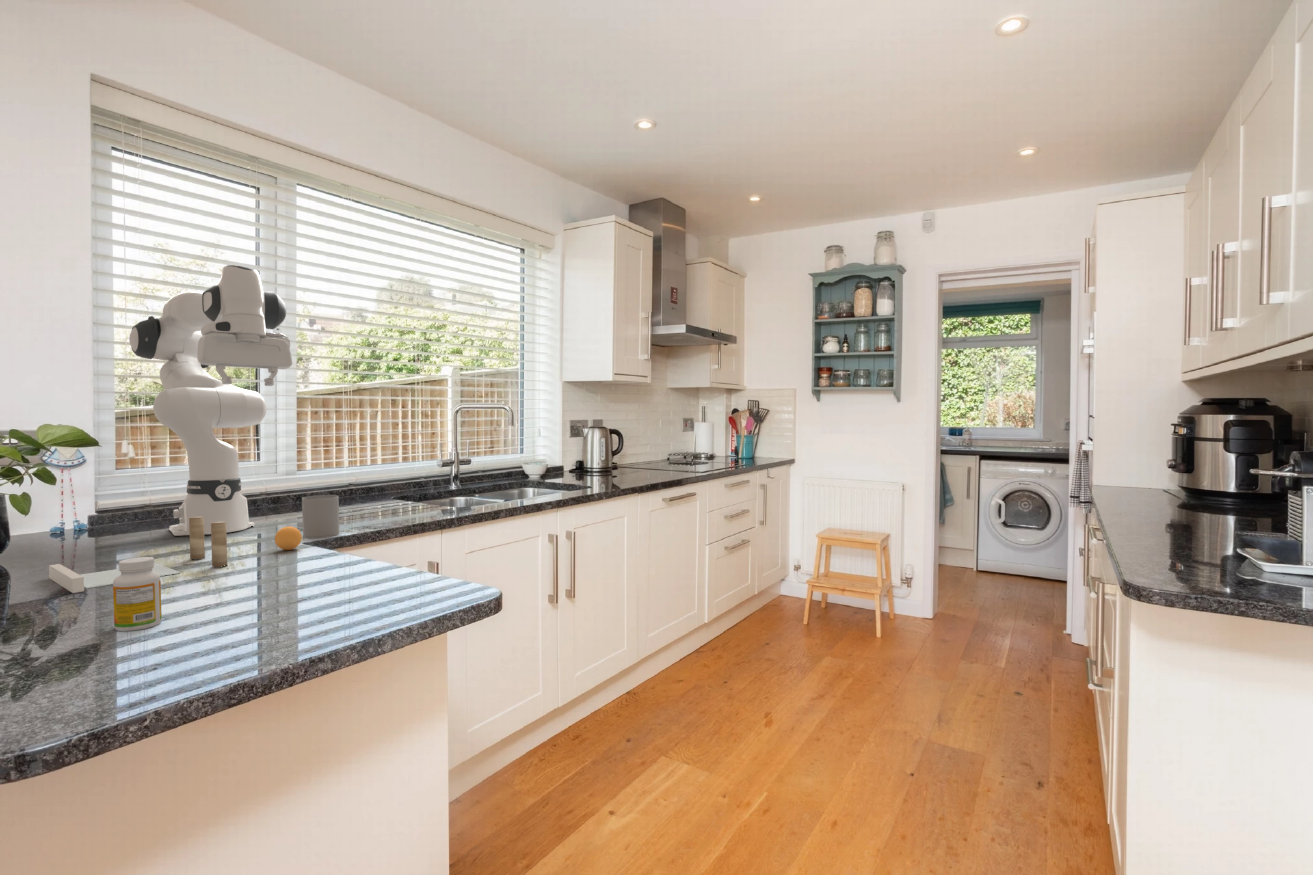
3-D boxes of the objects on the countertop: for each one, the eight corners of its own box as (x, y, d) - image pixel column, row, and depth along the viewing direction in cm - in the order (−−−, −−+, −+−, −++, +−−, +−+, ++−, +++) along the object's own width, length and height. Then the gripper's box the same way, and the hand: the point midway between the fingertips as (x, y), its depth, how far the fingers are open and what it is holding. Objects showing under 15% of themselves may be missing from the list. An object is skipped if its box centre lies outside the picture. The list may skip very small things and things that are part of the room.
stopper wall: (49, 578, 123) (49, 565, 123) (60, 576, 124) (59, 563, 124) (72, 593, 112) (72, 578, 112) (84, 591, 113) (83, 577, 113)
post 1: (188, 558, 139) (187, 517, 139) (202, 556, 141) (201, 516, 141) (192, 560, 138) (191, 518, 138) (206, 558, 140) (205, 517, 140)
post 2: (210, 566, 132) (208, 522, 132) (224, 564, 134) (223, 521, 134) (214, 568, 130) (213, 524, 130) (229, 565, 132) (228, 522, 132)
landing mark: (67, 577, 123) (67, 576, 123) (157, 564, 135) (157, 563, 135) (86, 588, 115) (86, 587, 115) (180, 573, 126) (180, 572, 126)
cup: (323, 538, 163) (322, 499, 163) (295, 537, 165) (294, 498, 165) (346, 532, 172) (345, 495, 171) (319, 531, 173) (318, 494, 173)
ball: (270, 550, 148) (270, 527, 148) (295, 546, 152) (295, 523, 152) (281, 553, 145) (280, 529, 145) (306, 549, 149) (305, 526, 149)
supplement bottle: (132, 620, 96) (130, 556, 96) (170, 619, 96) (168, 555, 96) (104, 632, 91) (102, 564, 90) (145, 631, 91) (143, 563, 91)
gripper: (283, 336, 171) (287, 388, 170) (192, 327, 154) (196, 385, 154) (294, 331, 167) (298, 384, 166) (202, 322, 150) (206, 381, 150)
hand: (248, 384), depth 160 cm, fingers open, 8 cm apart
